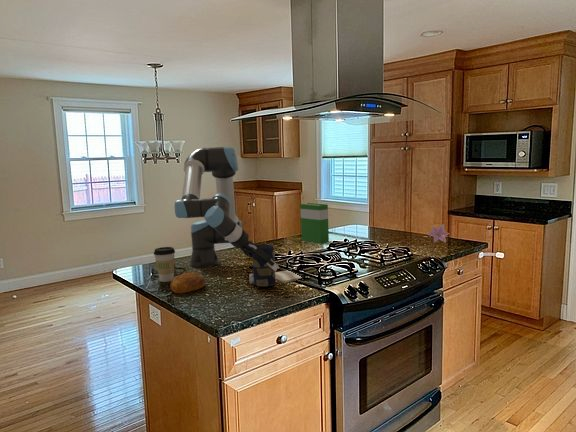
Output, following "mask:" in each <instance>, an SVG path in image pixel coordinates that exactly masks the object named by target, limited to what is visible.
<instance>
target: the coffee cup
mask: <svg viewBox="0 0 576 432" xmlns="http://www.w3.org/2000/svg"><path fill="white" fill-rule="evenodd" d="M175 253H176V250H175V248H174V247H172V246H162V247H161V246H160V247H156V248H155V249H154V252H153V255H154V258H155V265H156V270H157V274H158V279H159V282H162V283H167V282H171V281H172V279H174V278H175V276H174V273H175V258H176V257H175Z"/></svg>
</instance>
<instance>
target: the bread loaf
mask: <svg viewBox="0 0 576 432" xmlns="http://www.w3.org/2000/svg"><path fill="white" fill-rule="evenodd" d="M205 285H206V280H205V278H204V276H203V275H200V274H199V273H197V272H184V273H182V274H179V275H177V276H174V277H173V279H172V281H170V284H169V289H170V290H171V292H173V293H174V294H175V293H176V294H186V293H190V292H193V291H196V290H200V289H202V288H204V287H205Z"/></svg>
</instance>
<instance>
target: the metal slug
mask: <svg viewBox="0 0 576 432" xmlns="http://www.w3.org/2000/svg"><path fill="white" fill-rule="evenodd" d="M248 276H249V277H248V278H249V279H248V280H249V285H255V284H254V275H253V273H249V274H248Z"/></svg>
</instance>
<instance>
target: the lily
mask: <svg viewBox="0 0 576 432" xmlns="http://www.w3.org/2000/svg"><path fill="white" fill-rule="evenodd" d="M431 228H432V231H428V232H427V233H426V235H428V236H431V237H433V243H436V242H438V241H439V240H440V241H442V242H444V243H447V239H446V236H448V235H450V233H449V232H447V231H445V224H444V223H443V224H441V225H440V226H438V227H436V226H434V225H431Z"/></svg>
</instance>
